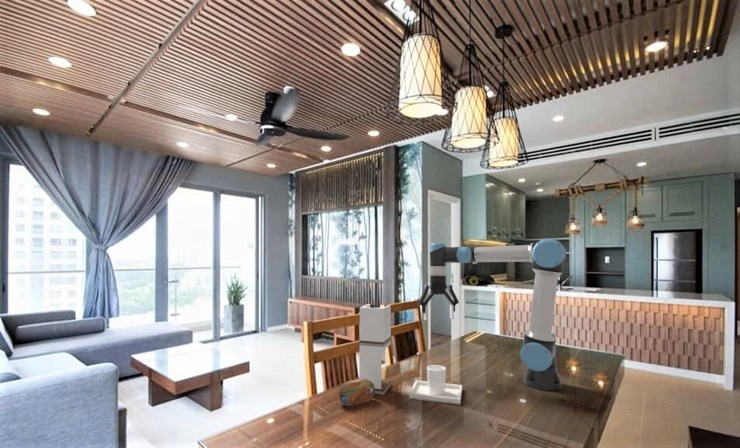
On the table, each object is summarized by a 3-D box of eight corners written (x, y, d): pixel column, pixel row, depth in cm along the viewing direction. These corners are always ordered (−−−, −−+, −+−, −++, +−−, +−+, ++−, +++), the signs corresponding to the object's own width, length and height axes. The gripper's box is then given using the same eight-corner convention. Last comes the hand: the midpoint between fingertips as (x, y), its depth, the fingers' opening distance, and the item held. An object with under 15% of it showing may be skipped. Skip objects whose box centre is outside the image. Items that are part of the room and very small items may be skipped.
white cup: (446, 397, 146) (445, 371, 147) (426, 395, 148) (426, 370, 149) (446, 389, 154) (445, 365, 155) (427, 388, 155) (427, 364, 156)
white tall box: (383, 394, 150) (383, 308, 153) (359, 391, 153) (359, 307, 156) (390, 385, 161) (390, 304, 164) (368, 382, 164) (368, 303, 167)
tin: (340, 408, 137) (340, 385, 138) (337, 405, 140) (337, 382, 140) (375, 400, 144) (375, 378, 145) (371, 398, 147) (371, 376, 147)
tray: (462, 389, 155) (462, 385, 156) (460, 404, 140) (460, 399, 140) (415, 384, 161) (415, 380, 161) (409, 398, 146) (409, 393, 146)
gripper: (458, 274, 183) (458, 316, 182) (411, 274, 178) (411, 319, 176) (465, 274, 176) (466, 319, 174) (416, 275, 170) (417, 321, 169)
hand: (438, 319), depth 175 cm, fingers open, 13 cm apart
